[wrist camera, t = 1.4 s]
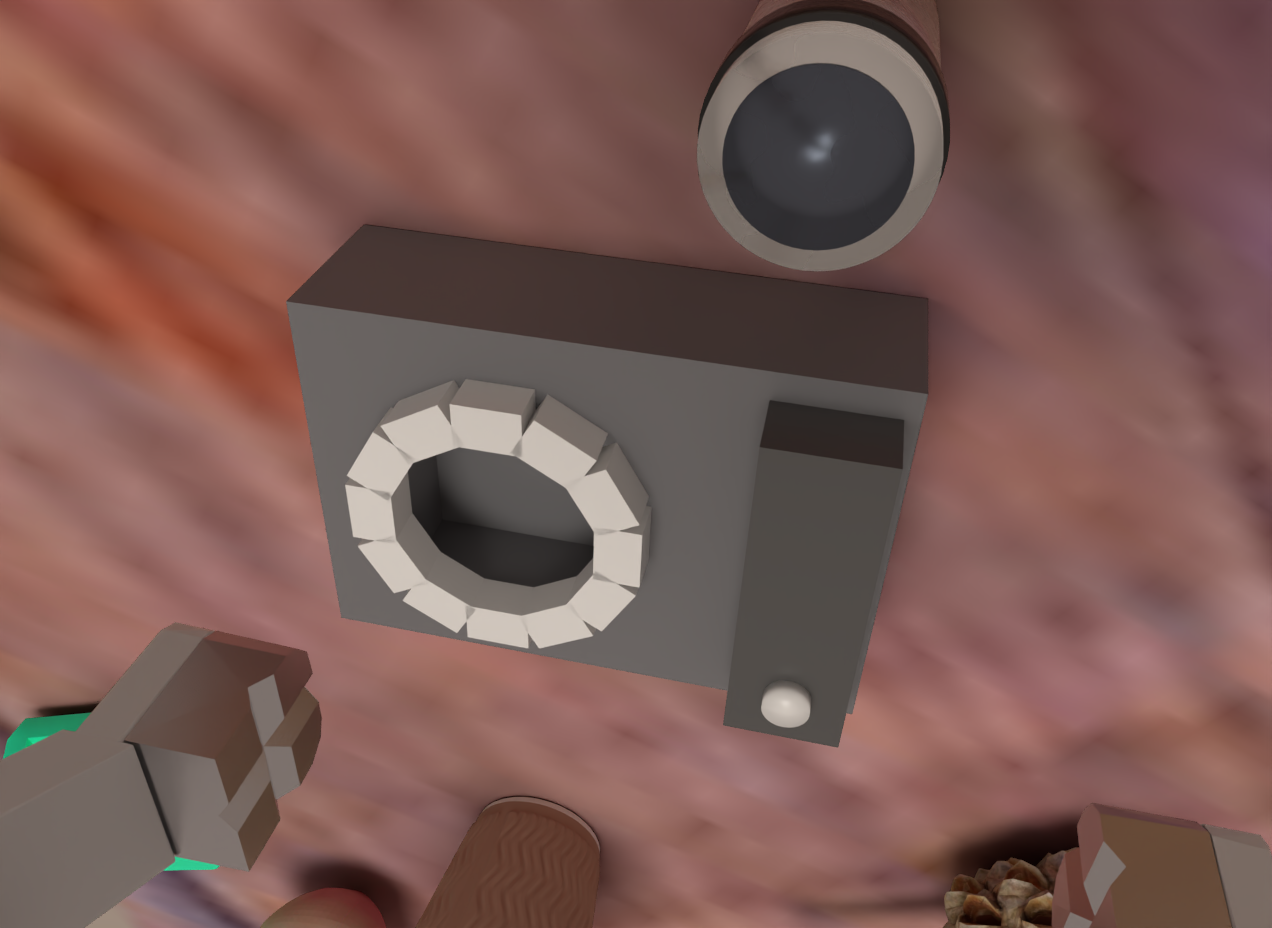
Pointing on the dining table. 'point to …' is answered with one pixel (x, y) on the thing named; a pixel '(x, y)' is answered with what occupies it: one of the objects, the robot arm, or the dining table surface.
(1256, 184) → the dining table surface
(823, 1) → the lens
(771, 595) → the camera body
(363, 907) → the decorative fruit
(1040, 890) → the pine cone
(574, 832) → the coffee cup
